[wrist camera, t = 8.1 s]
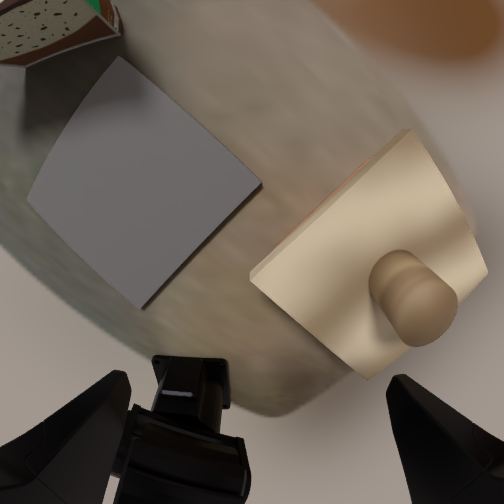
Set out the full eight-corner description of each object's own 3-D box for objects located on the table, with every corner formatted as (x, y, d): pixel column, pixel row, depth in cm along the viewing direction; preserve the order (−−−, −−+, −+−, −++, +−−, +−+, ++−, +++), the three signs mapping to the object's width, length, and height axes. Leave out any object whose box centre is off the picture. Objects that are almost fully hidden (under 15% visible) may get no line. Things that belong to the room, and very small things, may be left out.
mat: (261, 180, 18) (261, 182, 18) (141, 305, 22) (139, 309, 21) (121, 57, 15) (118, 55, 14) (30, 197, 18) (26, 199, 18)
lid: (480, 266, 15) (525, 301, 11) (363, 371, 18) (384, 425, 14) (402, 129, 13) (461, 130, 8) (250, 271, 15) (248, 328, 11)
